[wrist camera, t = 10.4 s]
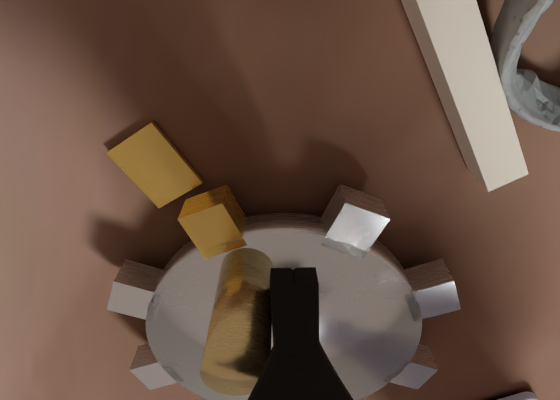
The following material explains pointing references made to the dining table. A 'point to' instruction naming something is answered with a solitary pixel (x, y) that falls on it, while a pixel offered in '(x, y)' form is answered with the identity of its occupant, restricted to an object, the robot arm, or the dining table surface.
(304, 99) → the dining table surface
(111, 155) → the yellow wooden brick
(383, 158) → the dining table surface
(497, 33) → the ceramic mug
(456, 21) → the bay
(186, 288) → the sprocket
